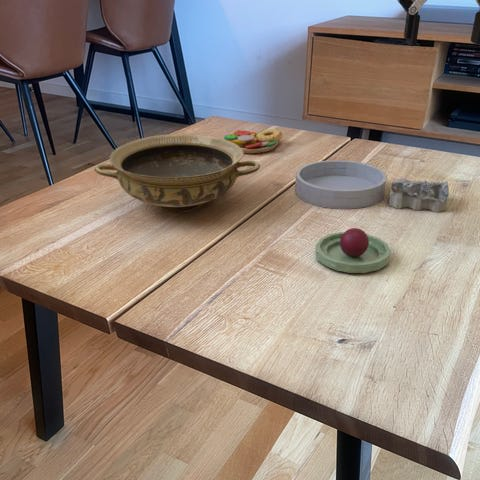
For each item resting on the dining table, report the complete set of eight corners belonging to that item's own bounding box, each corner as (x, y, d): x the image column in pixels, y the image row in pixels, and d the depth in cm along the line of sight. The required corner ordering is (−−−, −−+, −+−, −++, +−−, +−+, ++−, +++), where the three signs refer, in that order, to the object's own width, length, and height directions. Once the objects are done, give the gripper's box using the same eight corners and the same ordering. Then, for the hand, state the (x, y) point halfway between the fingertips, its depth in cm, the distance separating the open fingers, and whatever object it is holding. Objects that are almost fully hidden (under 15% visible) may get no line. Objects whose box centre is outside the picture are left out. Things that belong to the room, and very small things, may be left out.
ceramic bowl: (89, 233, 95) (78, 177, 90) (111, 184, 115) (104, 135, 109) (263, 229, 96) (264, 173, 90) (256, 180, 116) (256, 132, 110)
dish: (374, 175, 117) (376, 159, 115) (393, 208, 103) (396, 190, 101) (292, 176, 117) (293, 160, 115) (299, 209, 103) (300, 191, 101)
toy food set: (286, 142, 138) (287, 128, 136) (269, 157, 128) (269, 143, 126) (236, 137, 142) (236, 124, 140) (216, 152, 132) (216, 138, 130)
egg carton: (385, 208, 103) (388, 187, 101) (389, 193, 109) (392, 173, 106) (446, 214, 100) (450, 192, 98) (446, 199, 106) (450, 178, 104)
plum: (362, 250, 88) (368, 224, 86) (368, 262, 85) (374, 236, 82) (335, 248, 88) (340, 222, 86) (339, 260, 85) (345, 234, 82)
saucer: (380, 241, 91) (381, 231, 90) (395, 275, 82) (397, 264, 81) (312, 242, 91) (313, 232, 90) (320, 275, 82) (320, 264, 81)
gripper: (522, -100, 76) (492, 39, 85) (395, -98, 76) (379, 41, 86) (547, -104, 69) (512, 46, 79) (409, -102, 70) (390, 48, 79)
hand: (443, 43), depth 82 cm, fingers open, 9 cm apart
